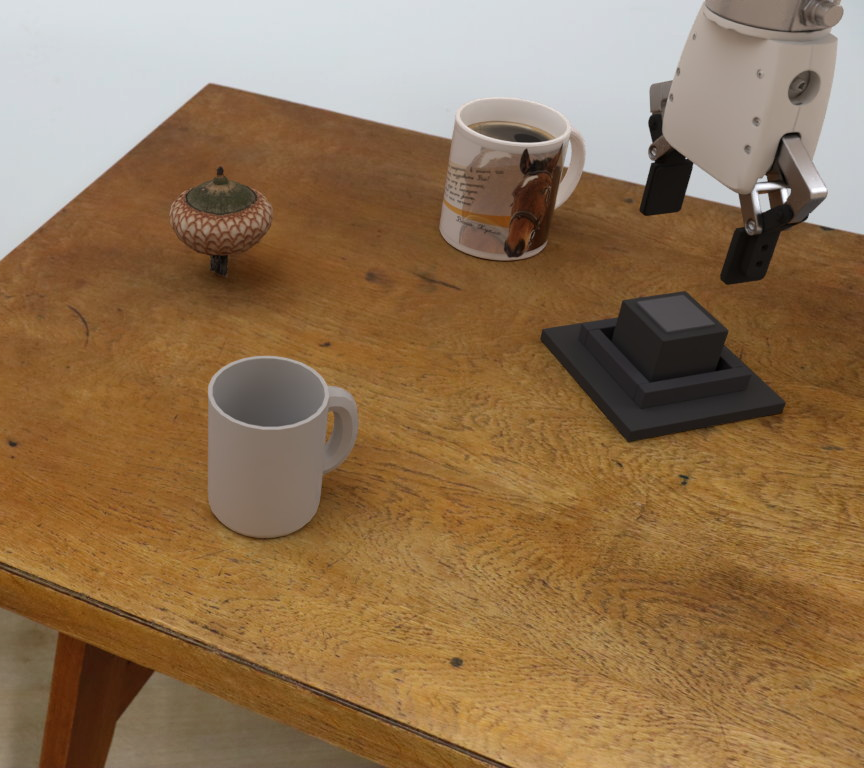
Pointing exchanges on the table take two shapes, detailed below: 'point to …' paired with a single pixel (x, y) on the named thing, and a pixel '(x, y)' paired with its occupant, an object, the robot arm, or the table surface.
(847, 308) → the table surface
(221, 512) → the cup
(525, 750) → the table surface
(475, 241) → the mug
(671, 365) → the small cube
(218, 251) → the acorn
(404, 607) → the table surface
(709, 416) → the base pad
